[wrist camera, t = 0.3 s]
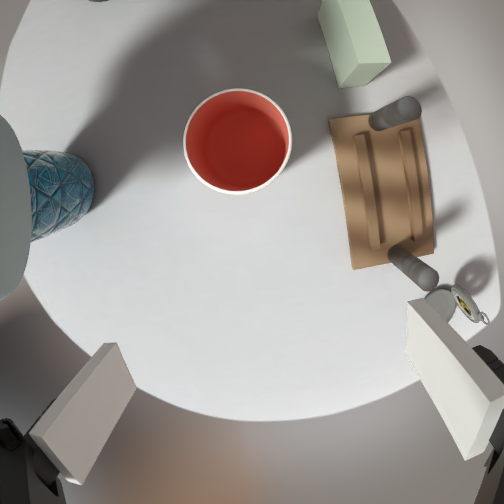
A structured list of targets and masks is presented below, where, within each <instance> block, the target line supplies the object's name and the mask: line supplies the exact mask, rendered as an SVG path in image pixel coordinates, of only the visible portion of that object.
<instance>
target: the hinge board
mask: <svg viewBox="0 0 504 504" xmlns="http://www.w3.org/2000/svg"><path fill="white" fill-rule="evenodd" d="M421 112H422V110H421V106H420V104H419V102H418V101H417V100H416V99H415V98H413V97H411V96H405V97H403V98H401V99H399V100H397V101H395V102H393V103H391V104H389V105H387V106H386V107H384V108H382V109H380V110H378V111H376V112H374V113H372V114H371V115H360V116H350V117H341V118H333V119H329V120H328V121H329V125H330V130H331V135H332V140H333V145H334V150H335V155H336V160H337V166H338V171H339V177H340V183H341V189H342V195H343V201H344V208H345V215H346V222H347V229H348V237H349V245H350V254H351V263H352V268H353V269H354V270H356V269H361V268H366V267H371V266H376V265H381V264H386V263H391V262H392V263H393V264H394V265H395V266H396V267H397V268H398V269H400V270H401V271H402V272H403V273H404V274H405V275H406V276H408V277H409V278H410V279H411V280H412V281H413V282H414V283H416V284H417V285H418V286H419V287H420V288H421V289H422V290H423V291H431V290H433V289H434V288H435V287H436V286H437V284H438V281H439V275H438V273H437V271H435V270H434V269H433V268H431V267H430V266H428V265H427V264H426V263H424V262H423V261H421V260H420V259H418V258H417V257H419V256H424V255H429V254H433V253H434V239H433V221H432V208H431V197H430V188H429V180H428V172H427V165H426V158H425V152H424V146H423V140H422V135H421V130H420V125H419V120H418V118H419V117H420V116H421Z"/></svg>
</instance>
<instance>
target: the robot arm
mask: <svg viewBox="0 0 504 504" xmlns="http://www.w3.org/2000/svg"><path fill="white" fill-rule="evenodd" d="M89 1H93V2H102V1H107V0H89ZM405 355H406V357H407V359H408V360H409V362H410V363H411V365H412V367H413V368H414V370H415V372H416V373H417V375H418V377H419V378H420V380H421V381H422V383H423V385H424V387H425V388H426V390H427V392H428V394H429V395H430V397H431V399H432V400H433V402H434V404H435V405H436V407H437V409H438V411H439V413H440V414H441V416H442V418H443V420H444V422H445V424H446V425H447V427H448V429H449V431H450V433H451V435H452V436H453V438H454V440H455V442H456V444H457V446H458V448H459V450H460V452H461V454H462V456H463V457H464V460H467V459H470V458H472V457H474V456H476V455H478V454H480V453H482V452H484V450H485V448H486V446H487V444H488V442H489V441H490V443H491V444H492V446H493V447H494V449H493V450H492V452H491V454H490V456H489V458H488V459H487V461H486V463H485V465H484V466H487V468H486V472H485V475H484V478H483V481H482V484H481V487H480V489H479V492H478V495H477V497H476V500H475V503H474V504H504V364H503V363H502V362H501V361H500V360H498V358H497V356H496V355H494V353H493V352H492V351H491V350H489V349H487V348H485V347H483V346H481V345H479V346H476V347H473V348H471V347H470V346H469V345H468V344H467V343H466V342H465V341H464V339H463V338H462V337H461V336H460V335H459V334H458V333H457V332H456V331H455V330H454V329H453V328H452V327H451V326H450V325H449V324H448V323H447V322H446V321H445V320H444V319H443V318H442V317H441V316H440V315H439V314H438V313H437V312H436V311H435V310H434V309H433V308H432V307H431V306H430V305H429V304H428V303H427V302H426V301H425V300H424V299H423V298H421V299H416V300H412V301H408V302H407V329H406V348H405ZM136 388H137V387H136V385H135V383H134V381H133V379H132V376H131V374H130V372H129V370H128V368H127V365H126V363H125V361H124V359H123V356H122V354H121V352H120V349H119V347H118V344H117V343H104V344H103V345H102V346H101V347H100V348H99V350H98V351H97V352H96V353H95V354H94V355H93V356H92V358H91V359H90V360H89V361H88V362H87V363H86V365H85V366H84V367H83V368H82V369H81V370H80V371H79V373H78V374H77V375H76V376H75V377H74V379H73V380H72V381H71V382H70V383H69V384H68V386H67V387H66V388H65V389H64V390H63V392H62V393H61V394H60V395H59V396H58V397H57V398H56V399H54V400H53V401H52V402H51V403H50V404H49V406H48V407H47V408H46V410H45V411H44V412H43V413H42V414H41V416H40V417H39V418H38V419H37V420H36V421H35V423H34V424H33V425H32V426H31V428H30V429H29V430H28V431H27V433H26V434H25V435H24V436H23V435H22V433H21V432H20V431H19V429H18V428H17V426H16V425H15V424H14V422H13V421H12V420H11V419H7V418H6V419H2V420H0V504H66V500H65V497H64V492H63V489H62V484H61V481H60V479H59V478H58V477H57V476H58V474H59V472H60V473H61V474H62V475H63V476H64V477H65V478H66V479H67V480H68V481H69V482H73V483H76V484H79V485H83V482H84V481H85V479H86V477H87V475H88V473H89V472H90V470H91V468H92V466H93V464H94V462H95V460H96V459H97V457H98V455H99V453H100V451H101V450H102V448H103V446H104V444H105V442H106V441H107V439H108V437H109V435H110V434H111V432H112V430H113V428H114V426H115V425H116V423H117V421H118V419H119V417H120V416H121V414H122V412H123V411H124V409H125V407H126V405H127V404H128V402H129V400H130V398H131V397H132V395H133V393H134V392H135V390H136Z"/></svg>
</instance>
